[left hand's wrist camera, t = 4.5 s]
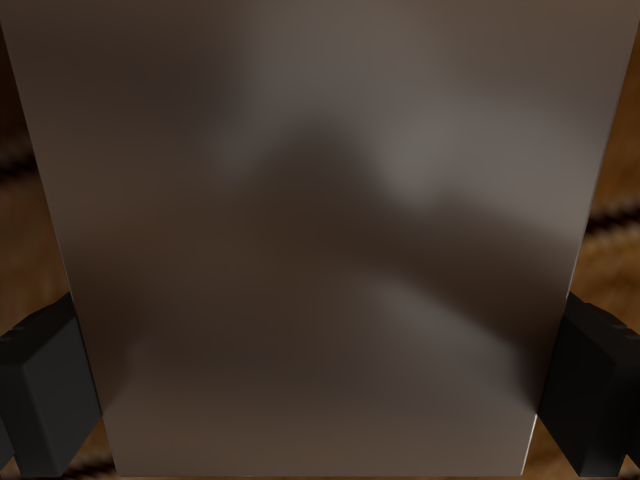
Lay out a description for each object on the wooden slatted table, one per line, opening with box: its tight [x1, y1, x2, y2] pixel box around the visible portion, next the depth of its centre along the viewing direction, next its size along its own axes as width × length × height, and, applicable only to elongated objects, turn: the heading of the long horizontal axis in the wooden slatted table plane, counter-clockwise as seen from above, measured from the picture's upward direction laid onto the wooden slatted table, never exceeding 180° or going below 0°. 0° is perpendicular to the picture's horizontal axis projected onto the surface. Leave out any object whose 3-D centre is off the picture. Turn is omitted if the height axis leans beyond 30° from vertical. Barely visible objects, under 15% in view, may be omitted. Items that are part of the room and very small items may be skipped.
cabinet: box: [0, 0, 640, 477], centre depth 11 cm, size 18×10×10 cm, turn 0°
